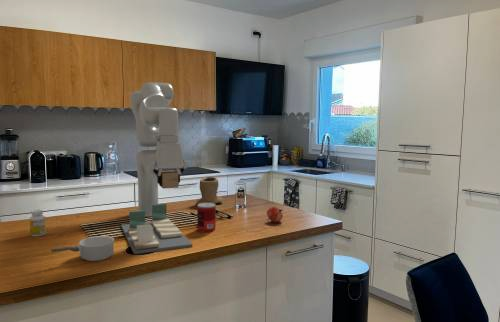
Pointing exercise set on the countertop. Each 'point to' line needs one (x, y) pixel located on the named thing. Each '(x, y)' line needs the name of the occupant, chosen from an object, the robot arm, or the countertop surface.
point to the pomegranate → (274, 214)
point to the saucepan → (93, 248)
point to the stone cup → (209, 190)
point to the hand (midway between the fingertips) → (168, 184)
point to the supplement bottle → (37, 223)
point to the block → (144, 233)
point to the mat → (163, 242)
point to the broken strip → (136, 220)
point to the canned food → (206, 217)
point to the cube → (169, 179)
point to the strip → (163, 222)
